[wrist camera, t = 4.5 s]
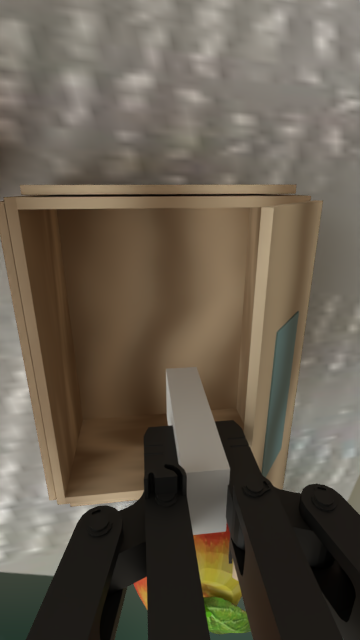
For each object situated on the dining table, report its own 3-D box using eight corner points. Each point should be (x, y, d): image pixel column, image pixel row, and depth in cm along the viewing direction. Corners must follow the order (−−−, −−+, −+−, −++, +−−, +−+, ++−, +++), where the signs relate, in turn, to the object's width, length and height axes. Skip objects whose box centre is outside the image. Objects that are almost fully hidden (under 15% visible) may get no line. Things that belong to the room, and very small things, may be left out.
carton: (72, 428, 29) (50, 511, 21) (38, 185, 22) (-11, 185, 15) (240, 415, 30) (273, 488, 23) (257, 185, 24) (312, 184, 16)
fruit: (180, 437, 31) (199, 545, 21) (260, 490, 34) (306, 602, 25) (104, 511, 33) (92, 638, 23) (187, 553, 36) (205, 679, 27)
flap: (232, 577, 17) (240, 582, 17) (261, 207, 11) (276, 207, 11) (276, 485, 22) (283, 488, 22) (314, 200, 16) (324, 200, 16)
